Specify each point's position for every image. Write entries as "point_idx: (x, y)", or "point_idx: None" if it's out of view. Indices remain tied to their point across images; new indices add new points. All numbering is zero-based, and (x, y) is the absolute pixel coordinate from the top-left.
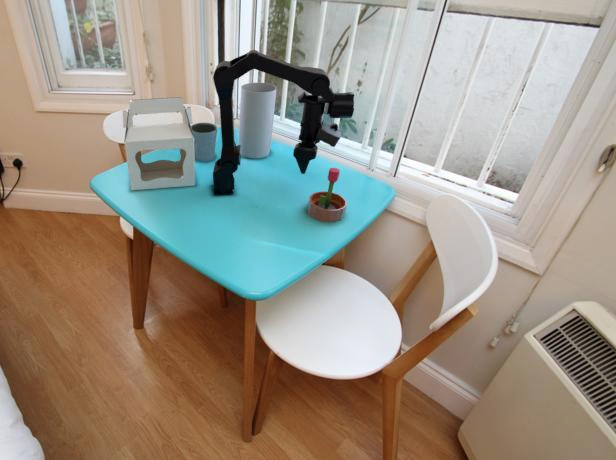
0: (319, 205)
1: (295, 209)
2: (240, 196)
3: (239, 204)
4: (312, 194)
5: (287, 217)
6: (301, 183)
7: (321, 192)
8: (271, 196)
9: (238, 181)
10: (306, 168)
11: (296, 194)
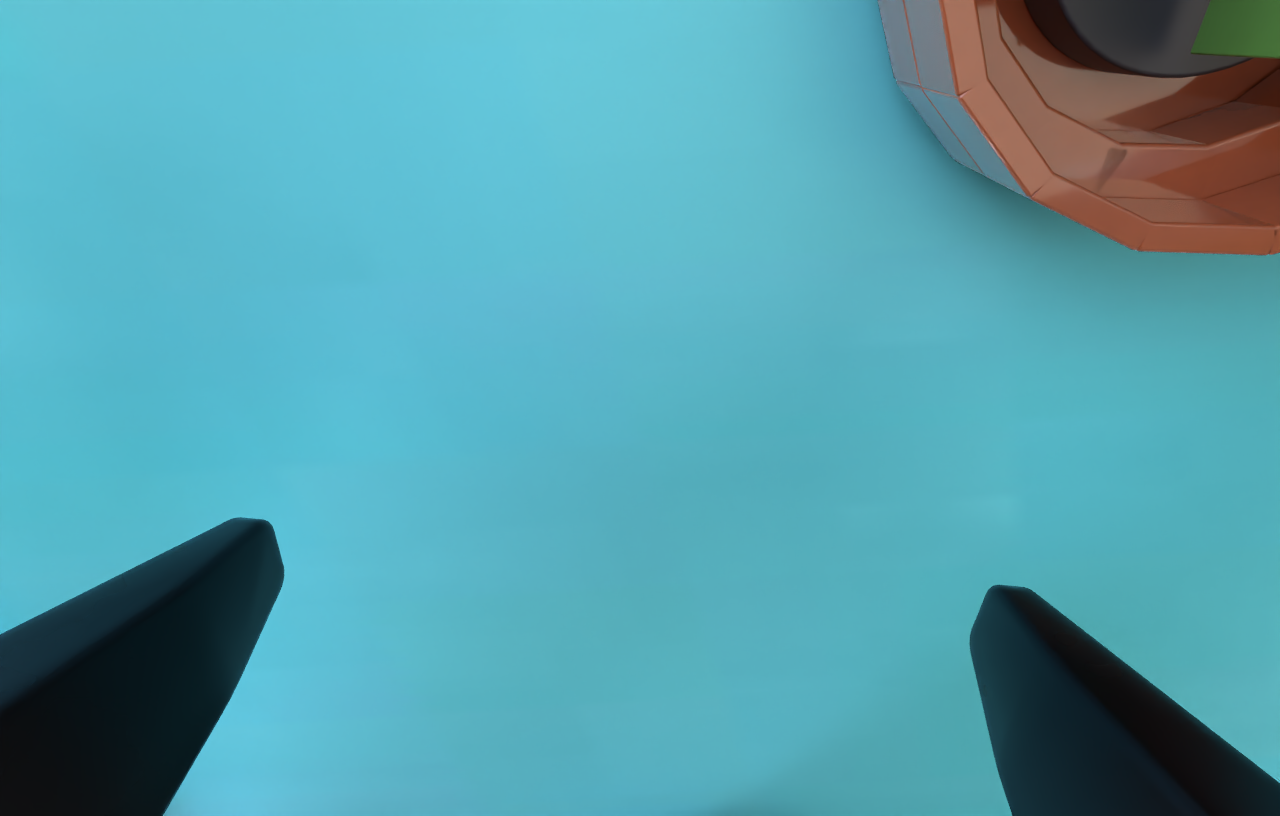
0: (1143, 28)
1: (1044, 339)
2: (830, 781)
3: (968, 777)
4: (1072, 206)
5: (1230, 411)
6: (376, 311)
7: (980, 30)
8: (781, 580)
9: (578, 807)
10: (1216, 739)
11: (674, 351)
